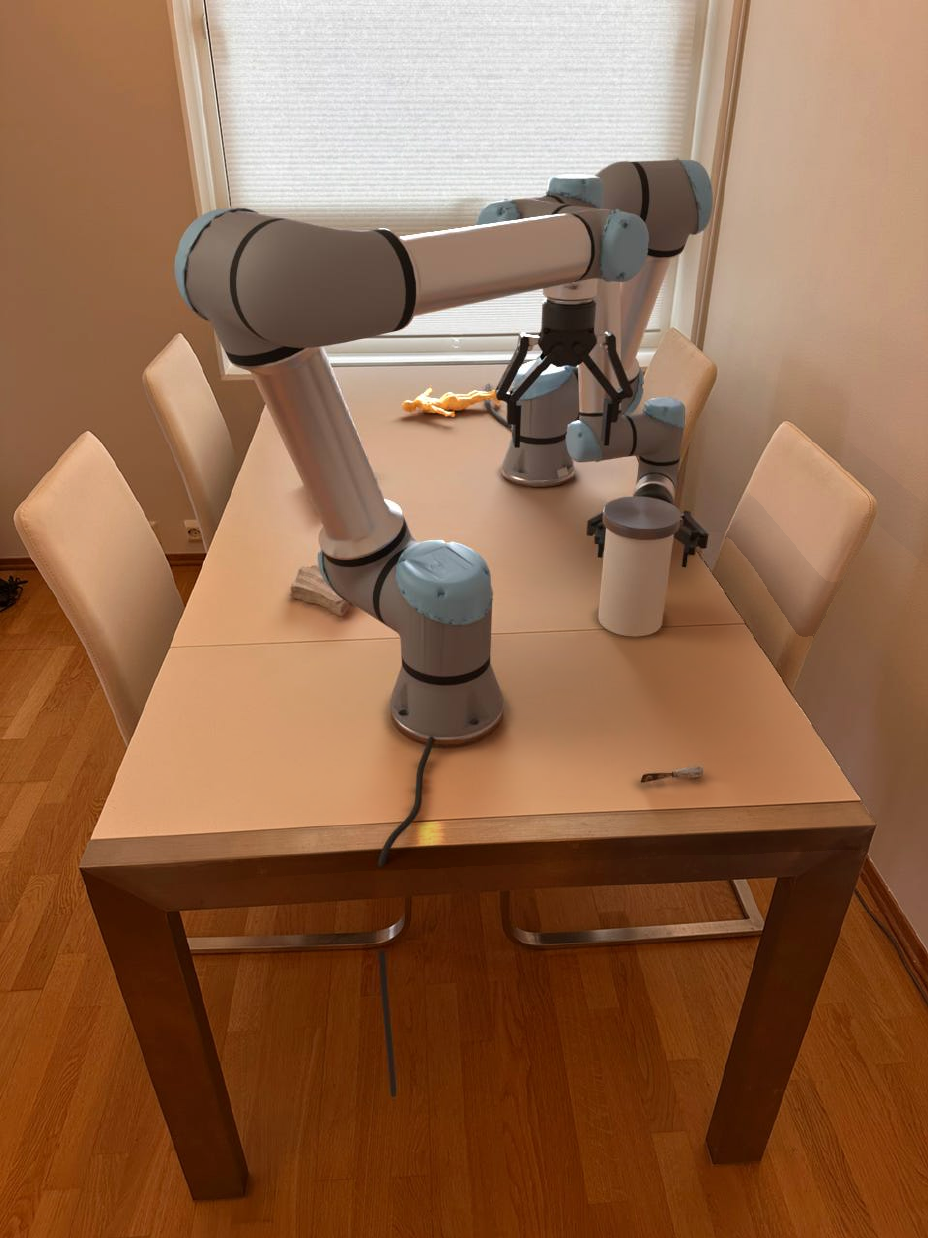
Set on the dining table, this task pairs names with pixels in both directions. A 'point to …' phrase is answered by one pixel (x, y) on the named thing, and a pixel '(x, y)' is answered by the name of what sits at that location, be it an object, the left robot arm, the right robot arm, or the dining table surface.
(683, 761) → the dining table surface
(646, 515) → the lid
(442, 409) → the human figure
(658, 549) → the jar
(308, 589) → the stone
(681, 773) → the putty knife
